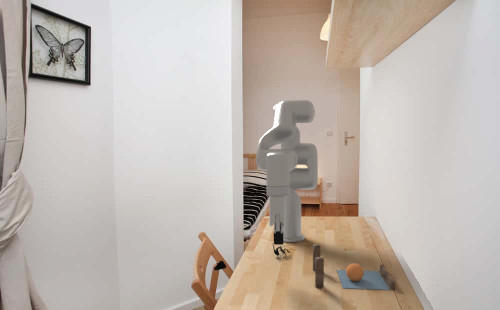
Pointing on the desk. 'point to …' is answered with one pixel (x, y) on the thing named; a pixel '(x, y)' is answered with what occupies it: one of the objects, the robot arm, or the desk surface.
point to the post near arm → (315, 253)
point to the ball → (354, 272)
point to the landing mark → (363, 281)
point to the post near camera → (319, 272)
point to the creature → (280, 250)
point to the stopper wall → (387, 277)
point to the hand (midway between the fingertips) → (278, 243)
